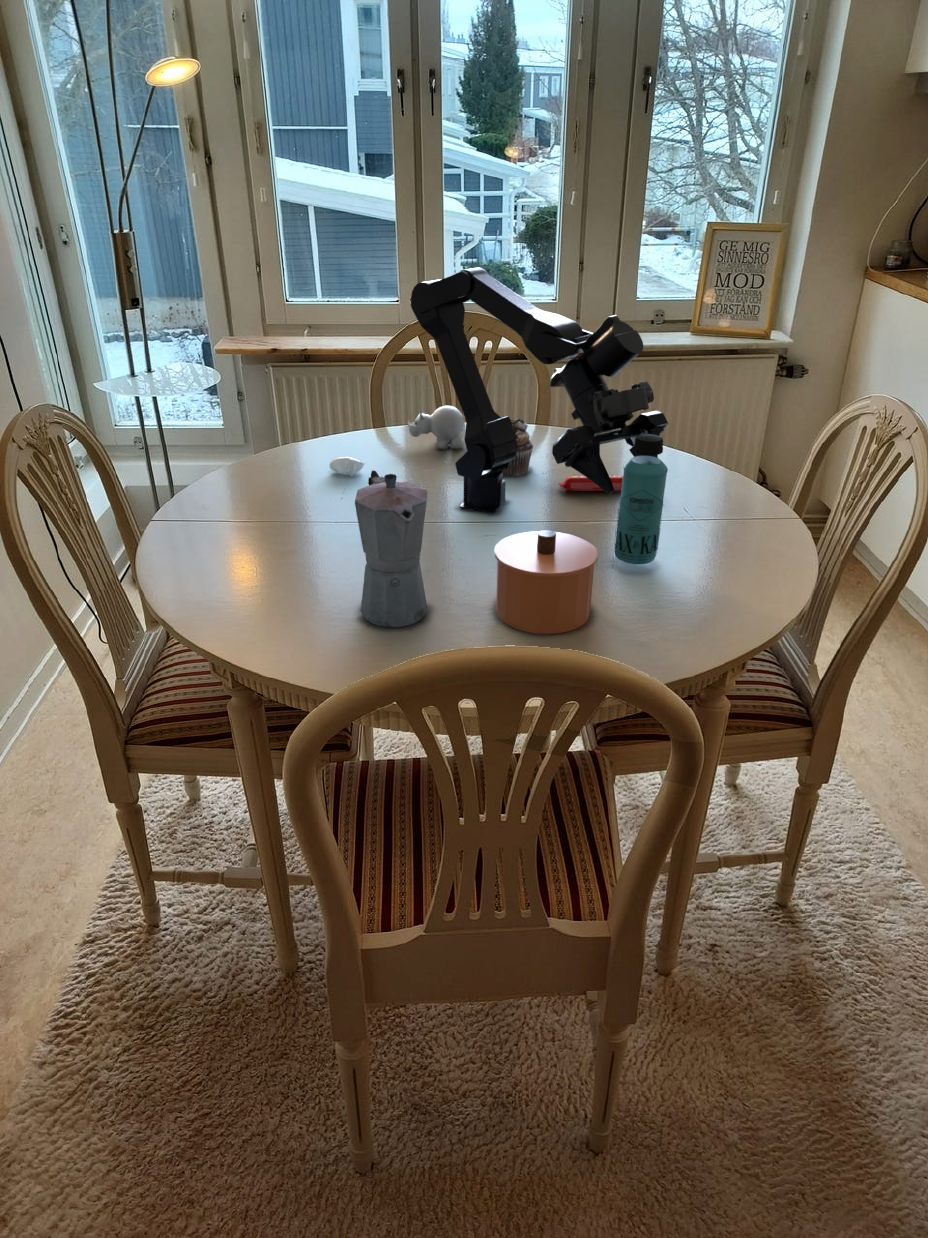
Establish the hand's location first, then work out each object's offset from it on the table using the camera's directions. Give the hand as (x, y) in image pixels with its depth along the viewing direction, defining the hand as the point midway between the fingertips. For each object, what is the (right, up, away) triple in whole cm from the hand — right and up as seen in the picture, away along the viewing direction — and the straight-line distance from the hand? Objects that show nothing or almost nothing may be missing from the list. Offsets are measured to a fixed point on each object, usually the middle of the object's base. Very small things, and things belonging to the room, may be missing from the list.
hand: (635, 486), depth 126 cm
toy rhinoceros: (-31, +17, +56) cm, 67 cm away
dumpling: (-48, +8, +40) cm, 63 cm away
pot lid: (-14, -11, -13) cm, 22 cm away
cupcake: (-16, +10, +43) cm, 47 cm away
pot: (-14, -18, -9) cm, 25 cm away
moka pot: (-35, -19, -9) cm, 41 cm away
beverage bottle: (+1, -11, +5) cm, 12 cm away
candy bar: (0, +4, +33) cm, 33 cm away
